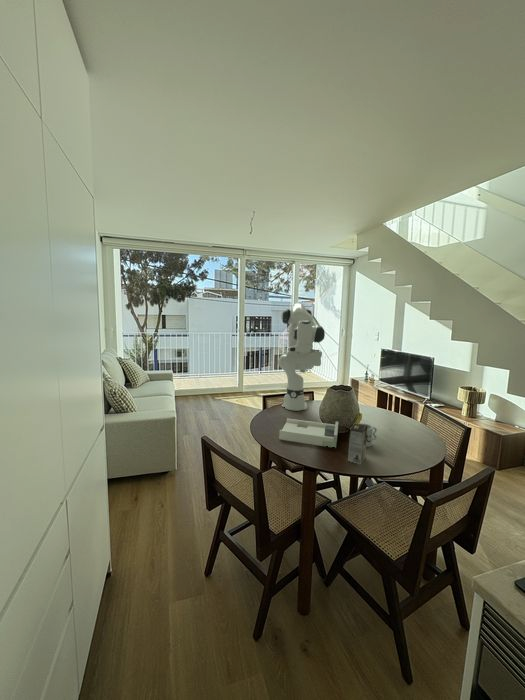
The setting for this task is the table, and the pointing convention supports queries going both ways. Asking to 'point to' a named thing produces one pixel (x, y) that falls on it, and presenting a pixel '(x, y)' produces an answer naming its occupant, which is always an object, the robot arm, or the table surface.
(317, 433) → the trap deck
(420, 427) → the table surface
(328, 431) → the block
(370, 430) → the mug
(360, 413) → the plant pot
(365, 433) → the coffee box
